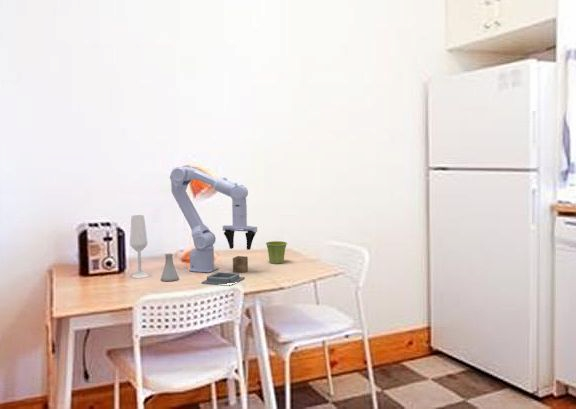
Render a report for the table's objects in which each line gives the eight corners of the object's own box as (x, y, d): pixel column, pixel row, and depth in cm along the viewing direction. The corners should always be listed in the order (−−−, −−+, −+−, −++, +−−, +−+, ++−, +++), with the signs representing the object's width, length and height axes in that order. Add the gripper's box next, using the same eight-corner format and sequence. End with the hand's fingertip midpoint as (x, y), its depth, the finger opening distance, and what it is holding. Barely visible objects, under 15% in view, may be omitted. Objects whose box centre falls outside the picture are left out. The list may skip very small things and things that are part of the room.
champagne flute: (131, 274, 228) (129, 215, 226) (148, 273, 230) (146, 214, 227) (131, 278, 221) (128, 217, 219) (148, 277, 223) (146, 216, 221)
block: (233, 272, 229) (232, 258, 229) (237, 270, 234) (237, 256, 233) (243, 273, 228) (242, 258, 227) (247, 271, 232) (247, 256, 231)
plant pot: (291, 261, 250) (291, 242, 249) (279, 265, 242) (279, 245, 241) (273, 259, 255) (273, 240, 254) (261, 263, 247) (261, 243, 246)
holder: (201, 283, 211) (201, 277, 211) (216, 276, 222) (216, 271, 222) (230, 286, 207) (230, 280, 207) (244, 278, 218) (244, 273, 218)
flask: (162, 282, 213) (162, 256, 212) (157, 279, 220) (157, 253, 219) (181, 280, 217) (180, 254, 216) (176, 276, 223) (175, 251, 222)
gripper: (218, 216, 227) (219, 249, 229) (252, 217, 222) (252, 251, 224) (226, 214, 234) (227, 246, 235) (259, 215, 229) (259, 248, 230)
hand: (240, 248), depth 230 cm, fingers open, 7 cm apart
